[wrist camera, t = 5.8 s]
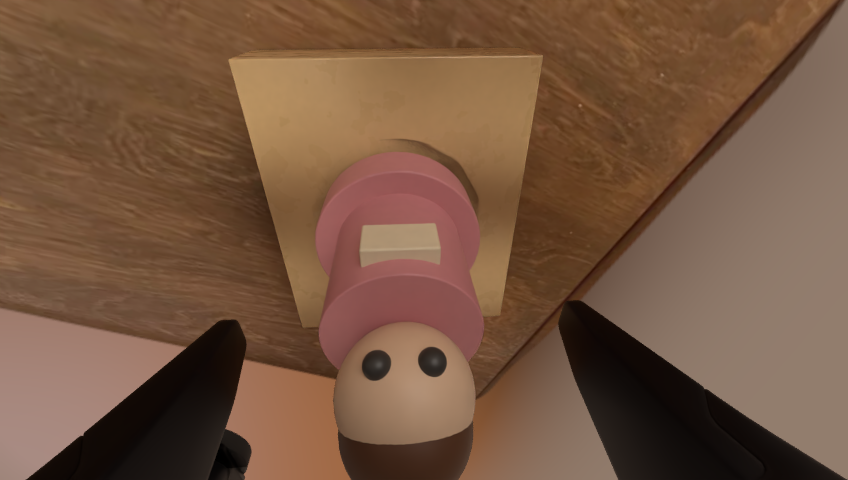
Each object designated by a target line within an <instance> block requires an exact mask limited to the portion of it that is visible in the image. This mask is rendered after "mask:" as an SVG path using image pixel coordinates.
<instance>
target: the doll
mask: <svg viewBox="0 0 848 480" xmlns="http://www.w3.org/2000/svg"><path fill="white" fill-rule="evenodd" d="M479 245H480V229H479V224H478V220H477V217H476V214H475V212H474V209H473V207H472V204H471V202H470V199H469V197H468V195H467V193H466V190H465V188H464V187H463V185H462V184H461V182H460V181H459V179H458V178H457V177H456V176H455V175H454V174H453V173H452V172H451V171H450V170H449V169H447V168H446V167H445V166H443V165H442V164H440V163H439V162H437V161H435V160H432V159H430V158H428V157H425V156H422V155H419V154H414V153H408V152H387V153H381V154H376V155H373V156H370V157H367V158H364V159H362V160H360V161H358V162H356V163H354V164H353V165H351V166H350V167H349V168H347V169H346V170H345V171H344V172H343V173H341V174H340V175H339V176H338V178H337V179H336V180H335V181H334V183H333V184H332V186H331V187H330V189H329V191H328V193H327V195H326V198H325V200H324V204H323V207H322V210H321V213H320V216H319V219H318V222H317V226H316V231H315V246H316V252H317V255H318V259H319V261H320V263H321V265H322V268H323V269H324V271H325V272H326V274H327V275H328V276H329V282H328V287H327V292H326V296H325V301H324V306H323V310H322V315H321V319H320V324H319V341H320V345H321V348H322V350H323V352H324V354H325V356H326V357H327V358H328V360H329V361H330V362H331V363H332V364H333V365H334V366H335V367H336V368H337V369H338V370H339V372H338V375H337V378H336V383H335V388H334V399H333V402H334V414H335V418H336V423H337V426H338V440H339V450H340V454H341V458H342V461H343V464H344V466H345V469H346V471H347V473H348V475H349V476H350V478H351V480H458V479H459V478H460V476H461V474H462V473H463V471H464V469H465V466H466V464H467V462H468V459H469V456H470V452H471V449H472V442H473V421H472V419H473V415H474V409H475V386H474V380H473V376H472V372H471V369H470V367H469V364H468V361H469V360H470V359H471V357H472V356H473V355H474V354H475V352H476V351H477V349H478V348H479V345H480V343H481V341H482V337H483V333H484V321H483V316H482V312H481V309H480V306H479V302H478V299H477V295H476V292H475V289H474V285H473V282H472V279H471V275H470V272H469V271H470V269H471V268H472V266H473V264H474V262H475V260H476V257H477V254H478V250H479Z"/></svg>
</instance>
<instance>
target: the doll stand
mask: <svg viewBox="0 0 848 480" xmlns="http://www.w3.org/2000/svg"><path fill="white" fill-rule="evenodd" d="M542 61H543V56H542V55H540V54H537V53H534V52H531V51H529V50H526V49H523V48H520V47H503V48H399V49H295V50H253V51H250V52H247V53H244V54H241V55H239V56H236V57H233V58H230V59H229V64H230V67H231V71H232V75H233V78H234V82H235V85H236V89H237V93H238V96H239V100H240V103H241V107H242V111H243V114H244V118H245V121H246V125H247V129H248V132H249V136H250V140H251V143H252V147H253V150H254V154H255V158H256V161H257V165H258V168H259V172H260V176H261V179H262V183H263V187H264V190H265V194H266V197H267V201H268V205H269V208H270V212H271V215H272V219H273V223H274V226H275V230H276V234H277V237H278V241H279V244H280V248H281V252H282V255H283V259H284V262H285V266H286V270H287V273H288V277H289V281H290V284H291V288H292V291H293V295H294V299H295V302H296V306H297V309H298V313H299V317H300V320H301V324H302V327H303V328H308V327H319V324H320V319H321V315H322V310H323V306H324V301H325V296H326V292H327V287H328V282H329V276H328V275H327V274H326V272H325V271H324V269H323V268H322V265H321V263H320V261H319V259H318V255H317V252H316V246H315V231H316V226H317V222H318V219H319V216H320V213H321V210H322V207H323V204H324V200H325V198H326V195H327V193H328V191H329V189H330V187H331V186H332V184H333V183H334V181H335V180H336V179H337V178H338V176H339V175H340V174H341V173H343V172H344V171H345V170H346V169H347V168H349V167H350V166H351V165H353V164H354V163H356V162H358V161H360V160H362V159H364V158H367V157H370V156H373V155H376V154H381V153H387V152H408V153H414V154H419V155H422V156H425V157H428V158H430V159H432V160H435V161H437V162H439V163H440V164H442V165H443V166H445V167H446V168H447V169H449V170H450V171H451V172H452V173H453V174H454V175H455V176H456V177H457V178H458V179H459V181H460V182H461V184H462V185H463V187H464V188H465V190H466V193H467V195H468V197H469V199H470V202H471V204H472V207H473V209H474V212H475V214H476V217H477V220H478V224H479V229H480V245H479V250H478V254H477V257H476V260H475V262H474V264H473V266H472V268H471V269H470V271H469V272H470V275H471V279H472V282H473V285H474V289H475V292H476V295H477V299H478V302H479V306H480V309H481V312H482V316H483V317H489V316H500V312H501V306H502V300H503V294H504V288H505V282H506V276H507V270H508V264H509V258H510V252H511V246H512V240H513V234H514V228H515V222H516V216H517V210H518V204H519V198H520V192H521V186H522V180H523V174H524V168H525V162H526V156H527V150H528V144H529V138H530V132H531V126H532V120H533V114H534V108H535V102H536V96H537V90H538V84H539V79H540V73H541V67H542Z"/></svg>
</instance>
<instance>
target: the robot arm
mask: <svg viewBox="0 0 848 480" xmlns="http://www.w3.org/2000/svg"><path fill="white" fill-rule="evenodd" d="M558 325H559V330H560V334H561V337H562V340H563V343H564V346H565V350H566V353H567V356H568V359H569V362H570V365H571V369H572V372H573V375H574V378H575V381H576V383H577V386H578V388H579V390H580V393H581V395H582V397H583V399H584V402H585V404H586V406H587V409H588V411H589V413H590V415H591V418H592V420H593V422H594V425H595V427H596V429H597V432H598V434H599V436H600V438H601V441H602V443H603V445H604V448H605V450H606V452H607V455H608V457H609V459H610V462H611V464H612V466H613V468H614V471H615V473H616V475H617V477H618V480H847V479H845V478H843V477H842V476H840V475H839V474H837V473H835V472H834V471H832V470H831V469H829V468H827V467H826V466H824V465H823V464H821V463H819V462H818V461H816V460H815V459H813V458H811V457H810V456H808V455H807V454H805V453H803V452H802V451H800V450H799V449H797V448H795V447H794V446H792V445H790V444H789V443H787V442H786V441H784V440H782V439H781V438H779V437H777V436H776V435H774V434H773V433H771V432H770V431H768V430H767V429H765V428H763V427H762V426H760V425H759V424H757V423H756V422H754V421H752V420H751V419H749V418H748V417H746V416H745V415H743V414H742V413H740V412H739V411H738V410H736V409H735V408H733V407H732V406H730V405H729V404H727V403H726V402H724V401H723V400H722V399H720V398H719V397H717V396H716V395H714V394H713V393H712V392H710V391H709V390H707V389H704V388H703V386H701V385H700V384H699V383H697V382H696V381H694V380H693V379H691V378H690V377H689V376H687V375H686V374H684V373H683V372H682V371H680V370H679V369H677V368H676V367H674V366H673V365H672V364H670V363H669V362H667V361H666V360H665V359H663V358H662V357H660V356H659V355H657V354H656V353H655V352H653V351H652V350H650V349H649V348H647V347H646V346H644V345H643V344H642V343H640V342H639V341H638V340H636V339H635V338H633V337H632V336H630V335H629V334H628V333H626V332H625V331H623V330H622V329H621V328H619V327H618V326H616V325H615V324H613V323H612V322H611V321H609V320H608V319H606V318H605V317H604V316H602V315H600V314H599V313H598V312H596V311H595V310H594V309H592V308H591V307H589V306H588V305H586V304H585V303H584V302H582V301H580V300H573V301H566V302H565V303H564V305H563V308H562V312H561V315H560V318H559V323H558ZM245 351H246V339H245V336H244V334H243V331H242V329H241V327H240V324H239V322H238V321H237V320H221V321H219V322H217V323H216V324H215V325H214V326H212V327H211V328H210V329H209V330H208V331H206V332H205V333H204V334H203V335H202V336H200V337H199V338H198V339H197V340H195V341H194V342H193V343H192V344H191V345H189V346H188V347H187V348H186V349H185V350H183V351H182V352H181V353H180V354H179V355H177V356H176V357H175V358H174V359H173V360H171V362H169V363H168V364H167V365H165V366H164V367H163V368H162V369H160V370H159V371H158V372H157V373H156V374H155V375H153V376H152V377H151V378H150V379H148V380H147V381H146V382H145V383H144V384H143V385H141V386H140V387H139V388H138V389H136V390H135V391H134V392H133V393H132V394H130V395H129V396H128V397H127V398H126V399H124V400H123V401H122V402H121V403H119V404H118V405H117V406H116V407H115V408H113V409H112V410H111V411H110V412H109V413H108V414H106V415H105V416H104V417H103V418H101V419H100V420H99V421H98V422H97V423H95V424H94V425H93V426H92V427H91V428H89V429H88V430H87V431H86V432H85V433H84V435H83V436H80V437H78V438H77V439H76V440H75V441H73V442H72V443H71V444H70V445H69V446H67V447H66V448H65V449H64V450H63V451H61V452H60V453H59V454H58V455H56V456H55V457H54V458H53V459H52V460H50V461H49V462H48V463H47V464H45V465H44V466H43V467H41V468H40V469H39V470H38V471H37V472H35V473H34V474H33V475H31V476H30V477H29V478H28V479H26V480H244V479H245V476H244V474H243V473H242V471H241V470H240V468H239V466H238V465H237V463H236V461H235V460H234V458H233V457H232V455H231V453H230V452H229V450H228V448H227V447H226V445H225V444H223V443H220V442H221V439H222V436H223V434H224V431H225V428H226V425H227V422H228V419H229V416H230V413H231V410H232V406H233V404H234V400H235V396H236V392H237V387H238V383H239V378H240V374H241V369H242V365H243V360H244V356H245Z"/></svg>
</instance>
